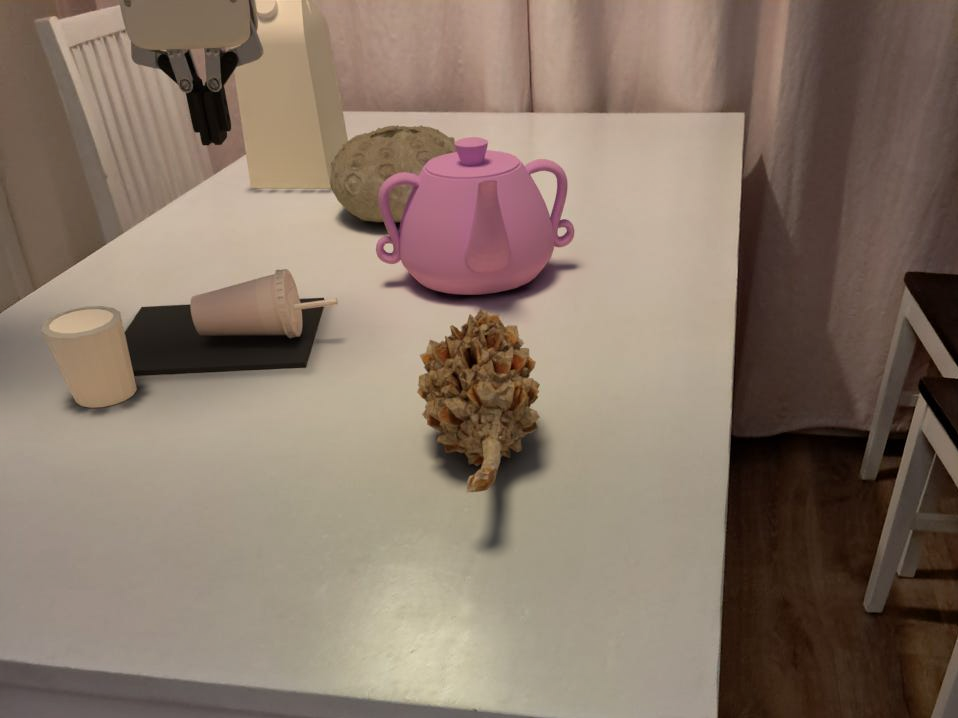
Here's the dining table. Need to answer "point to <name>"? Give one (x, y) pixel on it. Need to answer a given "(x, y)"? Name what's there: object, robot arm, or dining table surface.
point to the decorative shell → (383, 167)
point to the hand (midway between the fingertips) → (215, 140)
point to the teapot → (474, 221)
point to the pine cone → (480, 393)
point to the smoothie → (253, 308)
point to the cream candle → (92, 355)
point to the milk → (291, 98)
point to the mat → (211, 344)
